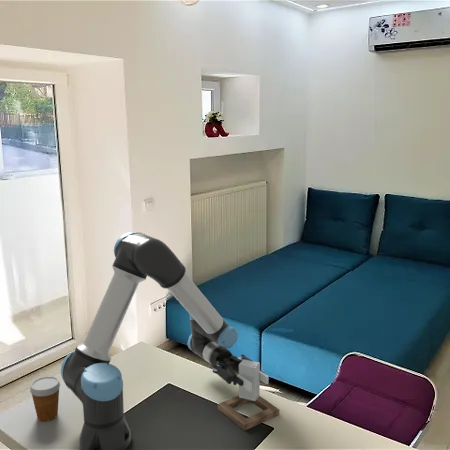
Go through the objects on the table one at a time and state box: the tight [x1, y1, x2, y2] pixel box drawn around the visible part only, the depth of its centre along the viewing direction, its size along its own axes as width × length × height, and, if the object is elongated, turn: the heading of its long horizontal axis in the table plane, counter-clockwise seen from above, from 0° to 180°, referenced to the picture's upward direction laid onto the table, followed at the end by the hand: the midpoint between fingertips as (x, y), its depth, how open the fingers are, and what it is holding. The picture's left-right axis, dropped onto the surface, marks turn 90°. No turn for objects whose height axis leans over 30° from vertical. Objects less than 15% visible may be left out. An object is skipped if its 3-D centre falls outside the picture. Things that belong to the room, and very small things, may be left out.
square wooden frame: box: [217, 394, 280, 431], centre depth 165 cm, size 15×15×2 cm
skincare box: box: [238, 359, 261, 401], centre depth 162 cm, size 6×4×12 cm
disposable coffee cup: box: [29, 375, 62, 423], centre depth 161 cm, size 10×10×12 cm
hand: (259, 383), depth 158 cm, fingers closed on skincare box, 6 cm apart
